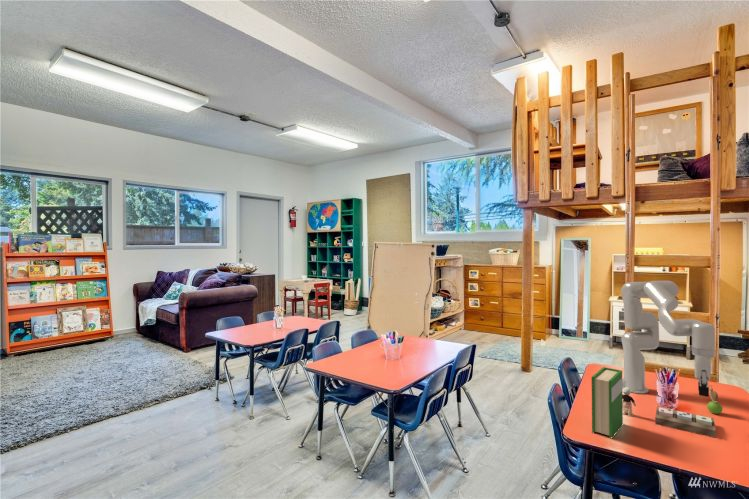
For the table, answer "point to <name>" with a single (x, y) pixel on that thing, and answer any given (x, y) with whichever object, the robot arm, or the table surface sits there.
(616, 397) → the hardback book
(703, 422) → the cream knobbed tile
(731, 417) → the table surface
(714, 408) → the snail figurine
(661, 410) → the two dot tile
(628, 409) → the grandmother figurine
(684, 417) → the three dot tile
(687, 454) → the table surface
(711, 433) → the counting board
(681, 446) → the table surface
